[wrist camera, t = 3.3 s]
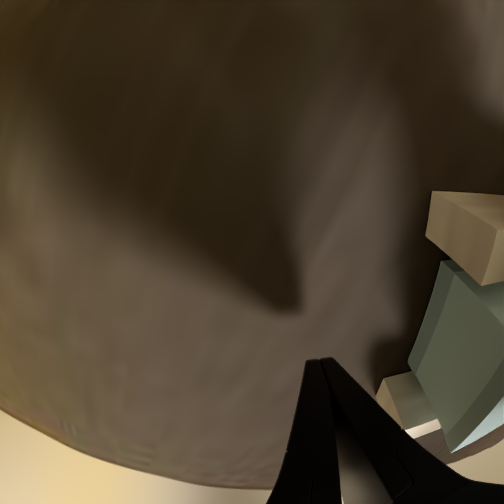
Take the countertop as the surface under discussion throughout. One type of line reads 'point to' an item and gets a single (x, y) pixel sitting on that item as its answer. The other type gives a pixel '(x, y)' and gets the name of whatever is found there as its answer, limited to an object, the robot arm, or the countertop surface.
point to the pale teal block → (462, 355)
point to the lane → (473, 262)
